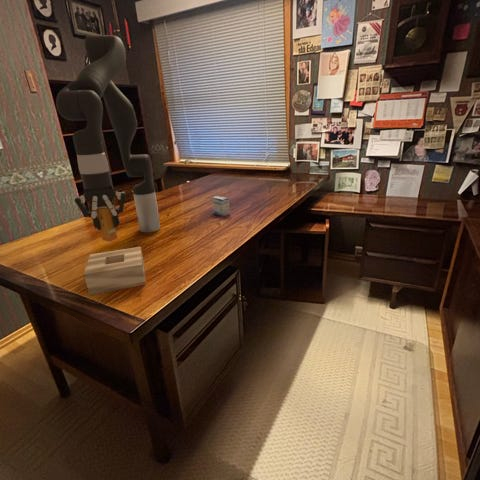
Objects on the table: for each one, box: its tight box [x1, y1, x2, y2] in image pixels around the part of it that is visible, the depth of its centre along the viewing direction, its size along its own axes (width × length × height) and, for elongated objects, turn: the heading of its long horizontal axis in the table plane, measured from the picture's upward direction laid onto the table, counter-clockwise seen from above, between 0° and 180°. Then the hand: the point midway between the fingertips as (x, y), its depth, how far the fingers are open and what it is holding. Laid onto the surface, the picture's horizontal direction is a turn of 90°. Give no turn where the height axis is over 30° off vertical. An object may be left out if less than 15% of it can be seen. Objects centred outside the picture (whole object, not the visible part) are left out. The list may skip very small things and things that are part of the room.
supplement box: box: [97, 206, 118, 243], centre depth 89 cm, size 3×3×10 cm
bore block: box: [83, 246, 147, 296], centre depth 95 cm, size 14×16×7 cm
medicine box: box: [211, 195, 230, 217], centre depth 153 cm, size 8×4×9 cm, turn 47°
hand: (107, 227), depth 90 cm, fingers closed on supplement box, 4 cm apart
